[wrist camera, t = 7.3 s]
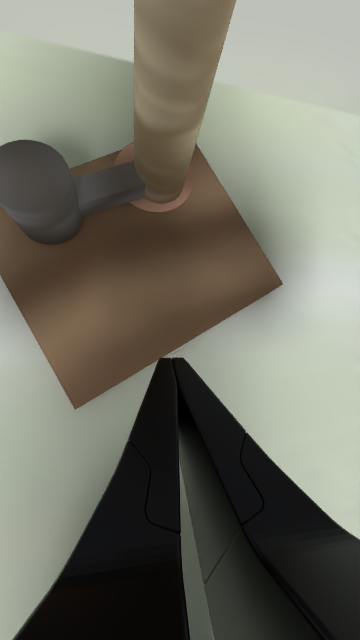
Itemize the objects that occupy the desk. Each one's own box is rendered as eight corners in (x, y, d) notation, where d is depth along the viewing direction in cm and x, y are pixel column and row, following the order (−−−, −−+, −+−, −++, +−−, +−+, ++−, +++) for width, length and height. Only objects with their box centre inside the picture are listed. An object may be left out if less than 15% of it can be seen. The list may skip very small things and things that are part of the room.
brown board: (276, 287, 18) (284, 283, 17) (78, 407, 15) (74, 410, 14) (182, 135, 19) (185, 123, 18) (-29, 215, 15) (-40, 205, 14)
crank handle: (32, 253, 15) (-177, 28, 5) (7, 198, 15) (-238, -123, 5) (192, 198, 17) (274, -28, 7) (169, 151, 17) (216, -129, 7)
